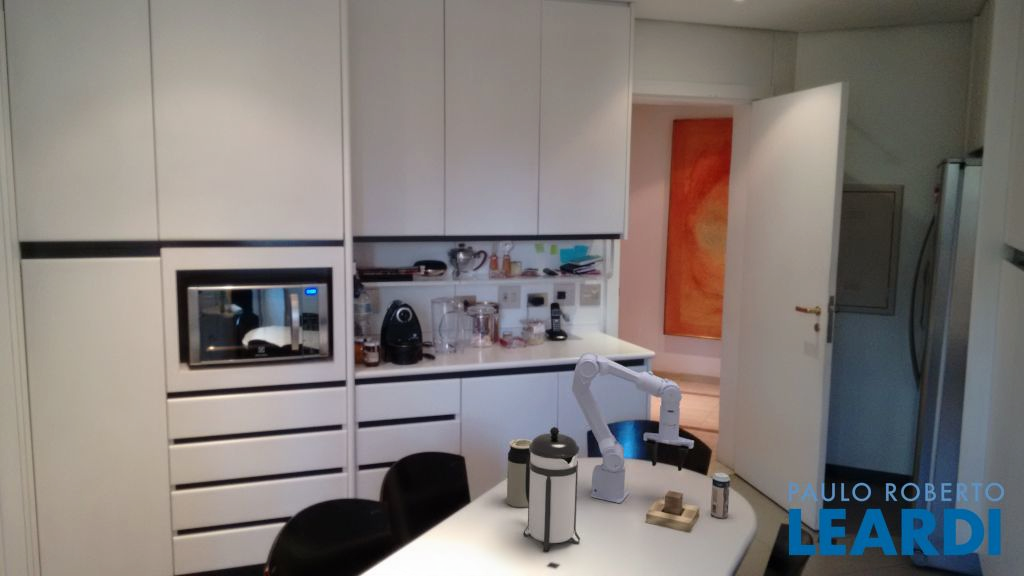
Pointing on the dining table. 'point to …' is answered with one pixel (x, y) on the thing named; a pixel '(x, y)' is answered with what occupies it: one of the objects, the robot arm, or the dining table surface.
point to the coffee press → (552, 488)
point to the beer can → (720, 495)
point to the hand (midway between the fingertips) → (667, 467)
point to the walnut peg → (673, 503)
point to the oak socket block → (672, 516)
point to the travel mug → (517, 472)
